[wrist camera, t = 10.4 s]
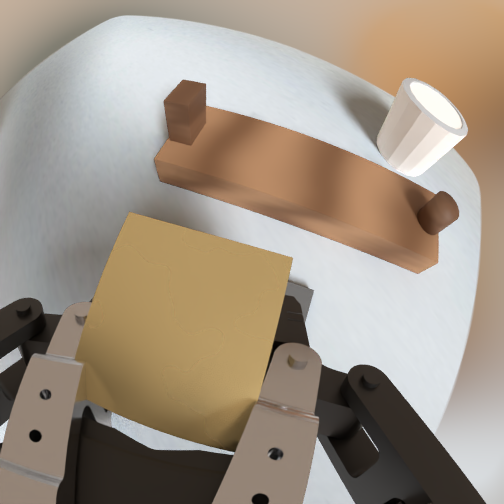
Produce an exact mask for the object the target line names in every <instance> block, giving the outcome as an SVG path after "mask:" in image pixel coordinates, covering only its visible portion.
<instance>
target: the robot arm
mask: <svg viewBox="0 0 504 504" xmlns="http://www.w3.org/2000/svg"><path fill="white" fill-rule="evenodd" d="M93 298H94V297H93ZM93 298H92V300H93ZM92 300H91V301H90V302H79V303H76V304H73V305H71V306H69V307H68V308H67V309H66V310H65V311H64V313H63V315H56V314H44V312H43V308H42V304H41V303H40V302H39V301H38V300H36V299H33V298H23V299H19V300H17V301H15V302H13V303H11V304H9V305H8V306H6V307H4V308H2V309H0V359H1V358H2V357H4V356H5V355H7V354H8V353H10V352H11V351H12V350H14V349H15V348H17V347H18V348H19V351H20V353H21V356H22V358H21V359H20V360H19V361H17V362H16V363H14V364H13V365H12V366H10V367H9V368H7V369H6V370H5V371H3V372H2V373H1V374H0V426H1V425H2V424H3V423H5V422H6V421H7V420H8V419H9V421H8V425H7V429H6V432H5V436H4V440H3V443H0V504H302V503H303V499H304V495H305V491H306V487H307V483H308V478H309V474H310V469H311V464H312V459H313V454H314V449H315V443H316V438H317V437H318V439H319V441H320V442H321V444H322V446H323V448H324V450H325V451H326V453H327V455H328V457H329V459H330V460H331V462H332V464H333V466H334V468H335V469H336V471H337V473H338V475H339V476H340V478H341V480H342V482H343V483H344V485H345V487H346V488H347V490H348V492H349V494H350V495H351V497H352V499H353V501H354V502H355V504H486V503H485V502H484V500H483V499H482V497H481V496H480V495H479V493H478V492H477V490H476V489H475V488H474V487H473V485H472V484H471V482H470V481H469V480H468V478H467V477H466V476H465V474H464V473H463V472H462V471H461V469H460V468H459V466H458V465H457V464H456V463H455V461H454V460H453V459H452V457H451V456H450V455H449V453H448V452H447V451H446V450H445V448H444V447H443V446H442V444H441V443H440V442H439V441H438V439H437V438H436V437H435V436H434V434H433V433H432V432H431V430H430V429H429V428H428V427H427V425H426V424H425V423H424V422H423V420H422V419H421V418H420V417H419V415H418V414H417V413H416V412H415V410H414V409H413V408H412V407H411V405H410V404H409V403H408V402H407V400H406V399H405V398H404V397H403V396H402V394H401V393H400V392H399V391H398V389H397V388H396V387H395V386H394V385H393V383H392V382H391V381H390V380H389V378H388V377H387V376H386V375H385V374H384V373H383V372H382V371H381V370H379V369H377V368H375V367H373V366H370V365H357V366H354V367H353V368H351V369H350V371H349V372H348V374H346V373H343V372H340V371H336V370H333V369H330V368H328V367H326V366H324V365H322V362H321V358H320V356H319V355H318V354H317V353H316V352H315V351H314V350H313V349H312V348H310V346H309V341H308V336H307V332H306V327H305V323H304V318H303V315H302V314H303V313H302V308H301V304H300V303H299V302H298V301H297V300H296V298H295V297H294V296H288V295H285V296H284V300H283V304H282V308H281V313H280V317H279V321H278V325H277V329H276V333H275V337H274V341H273V345H272V349H271V353H270V357H269V361H268V365H267V368H266V372H265V376H264V380H263V383H262V387H261V391H260V394H259V398H258V401H256V402H255V405H254V407H253V410H252V412H251V415H250V417H249V420H248V422H247V425H246V427H245V430H244V432H243V434H242V437H241V439H240V442H239V444H238V446H237V449H236V451H235V453H234V455H228V454H220V453H213V452H207V451H201V450H154V449H151V448H148V447H146V446H145V445H143V444H141V443H139V442H137V441H135V440H134V439H132V438H130V437H128V436H127V435H125V434H123V433H121V432H120V431H118V430H117V429H115V428H112V426H111V413H112V412H111V411H109V410H107V409H105V408H103V407H101V406H99V405H97V404H95V403H93V402H91V401H89V400H87V390H86V361H81V360H76V359H75V355H76V352H77V348H78V345H79V341H80V338H81V334H82V331H83V328H84V325H85V321H86V318H87V315H88V312H89V309H90V306H91V303H92ZM362 427H364V429H365V430H366V432H367V433H368V435H369V436H370V438H371V439H372V441H373V442H374V444H375V445H376V447H377V448H378V451H379V452H378V451H377V449H376V448H375V446H374V445H373V443H372V442H371V440H370V439H369V437H368V436H367V434H366V433H365V431H364V430H363V428H362Z"/></svg>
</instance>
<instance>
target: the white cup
mask: <svg viewBox="0 0 504 504" xmlns="http://www.w3.org/2000/svg"><path fill="white" fill-rule="evenodd" d="M467 131H468V128H467V125H466V122H465V120H464V118H463V117H462V115H461V114H460V112H459V111H458V109H457V108H456V107H455V106H454V105H453V104H452V103H451V101H449V99H448V98H446V97H445V96H444V95H443V94H442V93H440V92H439V91H438V90H436V89H435V88H433V87H432V86H430V85H429V84H427V83H425V82H422V81H420V80H417V79H413V78H406V79H405V80H404V81H403V82H402V84H401V86H400V88H399V91H398V93H397V95H396V97H395V99H394V102H393V104H392V106H391V108H390V110H389V113H388V115H387V117H386V119H385V121H384V123H383V125H382V127H381V129H380V132H379V134H378V136H377V146H378V149H379V152H380V153H381V155H382V156H383V157H384V159H385V160H386V161H387V163H389V164H390V165H391V166H392V167H393V168H394V169H396V170H397V171H399V172H401V173H403V174H405V175H408V176H414V177H415V176H418V175H421V174H422V173H423V172H424V171H426V170H427V169H428V168H429V167H430V166H432V165H433V164H434V163H435V162H436V161H437V160H439V159H440V158H441V157H442V156H443V155H444V154H446V153H447V152H448V151H449V150H450V149H451V148H452V147H454V146H455V145H456V144H457V143H458V142H459V141H460V140H462V139H463V138H464V137H465V136H466V135H467Z"/></svg>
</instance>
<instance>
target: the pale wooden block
mask: <svg viewBox="0 0 504 504" xmlns="http://www.w3.org/2000/svg"><path fill="white" fill-rule="evenodd" d="M292 260H293V258H292V257H288V256H285V255H281V254H278V253H274V252H271V251H267V250H264V249H260V248H257V247H253V246H250V245H246V244H243V243H239V242H236V241H232V240H228V239H225V238H221V237H218V236H214V235H211V234H207V233H204V232H200V231H197V230H193V229H189V228H186V227H182V226H179V225H175V224H171V223H168V222H164V221H161V220H157V219H154V218H150V217H146V216H143V215H139V214H135V213H132V212H129V214H128V216H127V218H126V220H125V222H124V224H123V226H122V229H121V231H120V233H119V235H118V237H117V240H116V242H115V244H114V247H113V249H112V251H111V254H110V256H109V259H108V261H107V263H106V266H105V268H104V271H103V273H102V276H101V279H100V281H99V284H98V287H97V289H96V292H95V295H94V298H93V300H92V303H91V306H90V309H89V312H88V315H87V318H86V321H85V325H84V328H83V331H82V334H81V338H80V341H79V345H78V348H77V352H76V355H75V359H76V360H81V361H86V390H87V400H89V401H91V402H93V403H95V404H97V405H99V406H101V407H103V408H105V409H107V410H109V411H111V412H114V413H116V414H118V415H120V416H123V417H125V418H127V419H130V420H132V421H135V422H137V423H140V424H142V425H145V426H147V427H150V428H153V429H155V430H158V431H161V432H164V433H167V434H170V435H173V436H176V437H179V438H182V439H185V440H189V441H192V442H196V443H199V444H203V445H207V446H210V447H214V448H219V449H223V450H227V451H232V452H235V451H236V449H237V446H238V444H239V442H240V439H241V437H242V434H243V432H244V430H245V427H246V425H247V422H248V420H249V417H250V415H251V412H252V410H253V407H254V405H255V402H256V401H258V398H259V394H260V391H261V387H262V383H263V380H264V376H265V372H266V368H267V365H268V361H269V357H270V353H271V349H272V345H273V341H274V337H275V333H276V329H277V325H278V321H279V317H280V313H281V308H282V304H283V300H284V296H285V291H286V287H287V283H288V278H289V274H290V269H291V265H292Z"/></svg>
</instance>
